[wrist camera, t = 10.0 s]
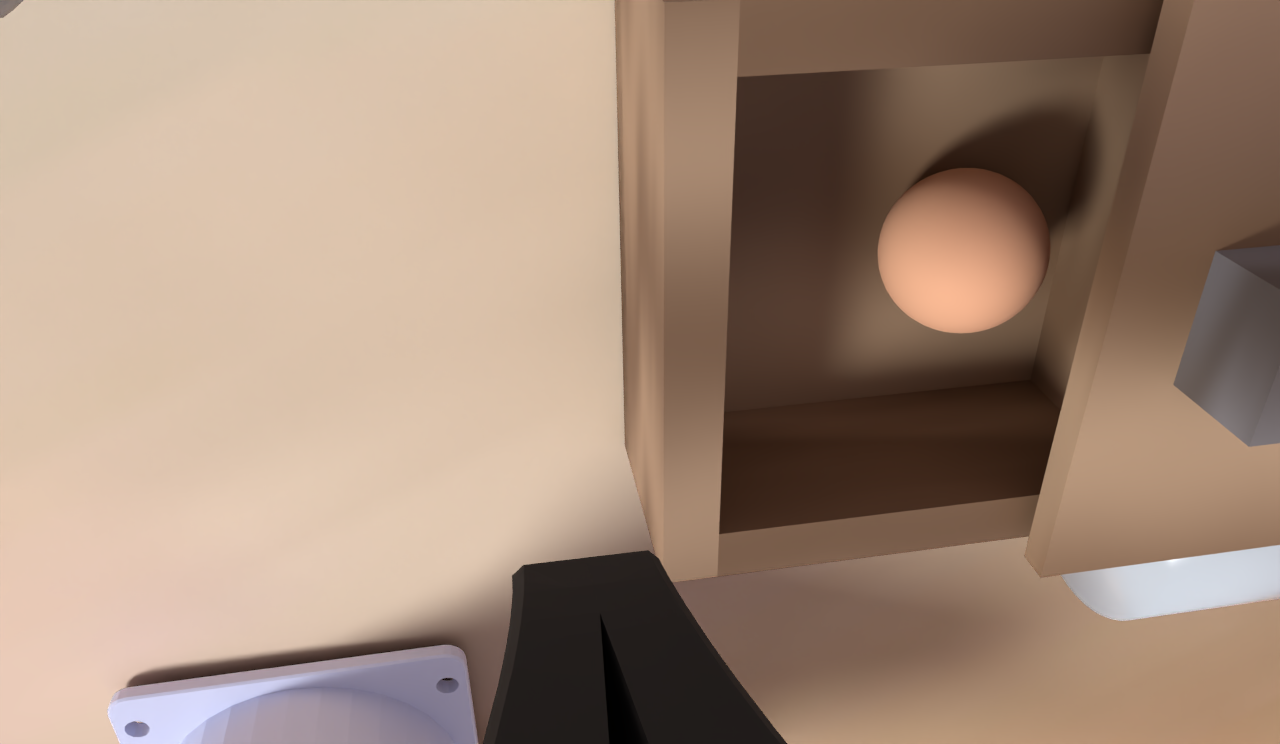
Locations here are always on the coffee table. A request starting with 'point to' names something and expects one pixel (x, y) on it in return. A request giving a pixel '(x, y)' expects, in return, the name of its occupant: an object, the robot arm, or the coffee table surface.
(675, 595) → the robot arm
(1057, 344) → the keepsake box
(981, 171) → the ball
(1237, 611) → the coffee table surface
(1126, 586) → the white rounded piece
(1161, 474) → the lid
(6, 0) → the ceramic mug
